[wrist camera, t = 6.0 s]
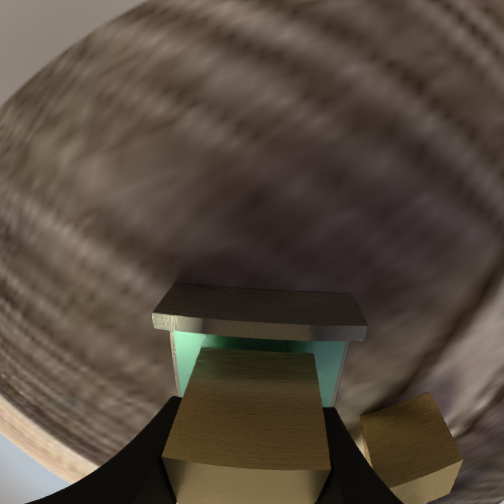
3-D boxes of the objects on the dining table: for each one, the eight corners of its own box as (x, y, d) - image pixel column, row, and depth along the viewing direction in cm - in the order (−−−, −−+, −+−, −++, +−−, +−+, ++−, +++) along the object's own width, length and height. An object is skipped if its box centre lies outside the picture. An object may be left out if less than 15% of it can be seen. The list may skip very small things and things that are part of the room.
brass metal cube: (425, 432, 14) (449, 493, 9) (364, 452, 15) (378, 518, 10) (429, 391, 13) (463, 459, 8) (359, 415, 14) (377, 491, 9)
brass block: (299, 424, 12) (304, 524, 7) (206, 418, 12) (182, 514, 7) (313, 353, 10) (330, 469, 6) (201, 346, 11) (161, 456, 6)
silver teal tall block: (294, 506, 17) (294, 532, 15) (203, 500, 18) (197, 525, 15) (351, 293, 12) (367, 325, 9) (173, 283, 12) (151, 313, 10)
